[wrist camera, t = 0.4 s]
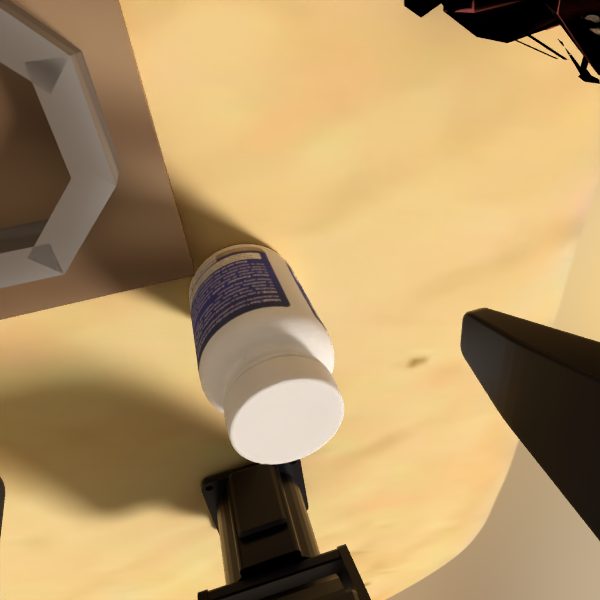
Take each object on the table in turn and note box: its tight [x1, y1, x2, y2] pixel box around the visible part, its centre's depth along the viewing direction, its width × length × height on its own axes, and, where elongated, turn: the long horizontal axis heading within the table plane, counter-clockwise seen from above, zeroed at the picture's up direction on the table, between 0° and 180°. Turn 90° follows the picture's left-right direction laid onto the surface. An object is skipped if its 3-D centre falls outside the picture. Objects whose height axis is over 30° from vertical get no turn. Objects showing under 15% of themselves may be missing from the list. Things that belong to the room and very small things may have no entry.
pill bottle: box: [189, 244, 344, 464], centre depth 18 cm, size 5×5×9 cm
